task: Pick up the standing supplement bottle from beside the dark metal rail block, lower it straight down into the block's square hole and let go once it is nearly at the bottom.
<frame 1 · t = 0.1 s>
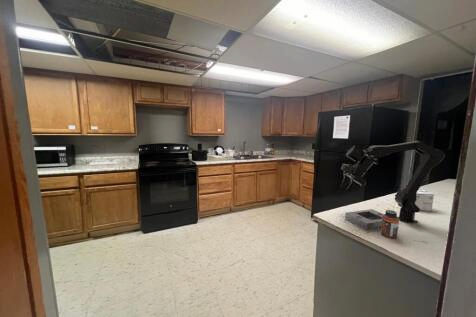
hand: (343, 189, 109), 15 cm above the countertop, tool tilted 35°, fingers open, 9 cm apart
light bulb box: (417, 208, 119), on the countertop
supplement bottle: (388, 235, 89), on the countertop
rail block: (369, 222, 102), on the countertop
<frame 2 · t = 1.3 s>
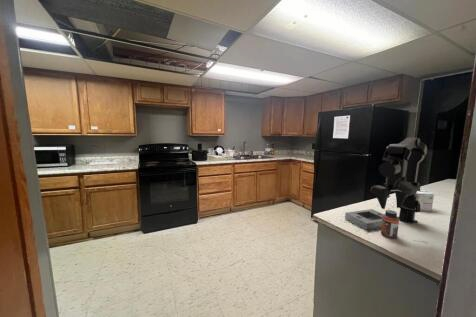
hand: (391, 207, 87), 13 cm above the countertop, tool pointing down, fingers open, 9 cm apart
nothing on the countertop moved.
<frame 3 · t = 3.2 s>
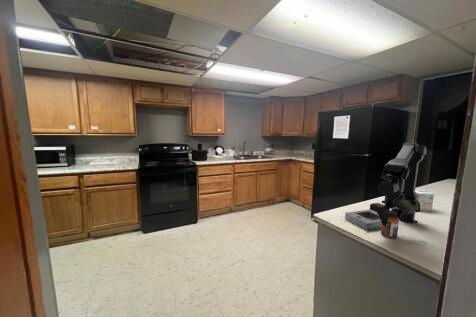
hand: (389, 224, 88), 5 cm above the countertop, tool pointing down, fingers closed on supplement bottle, 6 cm apart
supplement bottle: (388, 235, 89), on the countertop, touching gripper
everything else where it was.
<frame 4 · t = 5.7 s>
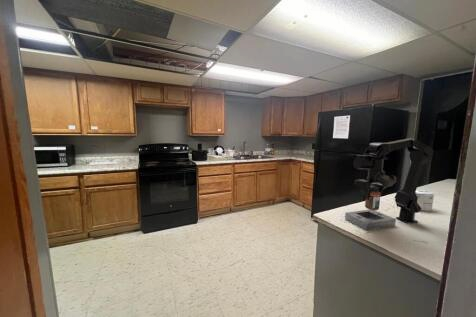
hand: (372, 198, 99), 13 cm above the countertop, tool pointing down, fingers closed on supplement bottle, 6 cm apart
supplement bottle: (371, 208, 100), point 8 cm above the countertop, touching gripper
everything else where it was.
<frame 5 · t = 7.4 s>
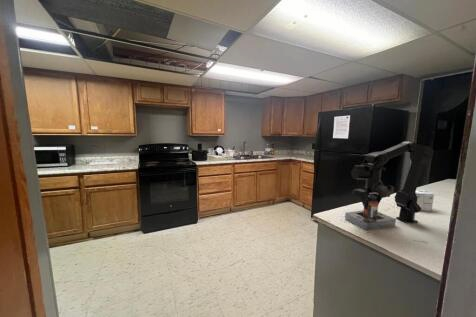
hand: (370, 208, 100), 8 cm above the countertop, tool pointing down, fingers closed on supplement bottle, 6 cm apart
supplement bottle: (369, 217, 101), point 2 cm above the countertop, touching gripper
everything else where it was.
when the fingers open (6 cm above the countertop, at t = 8.6 s): supplement bottle stays where it is, resting on rail block.
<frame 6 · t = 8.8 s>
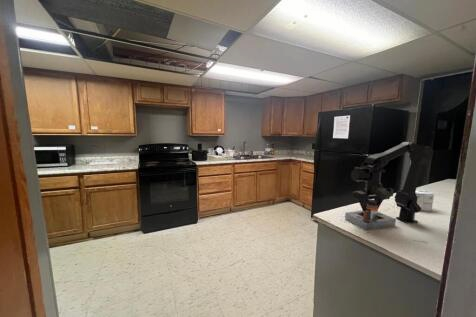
hand: (370, 210, 101), 6 cm above the countertop, tool pointing down, fingers open, 8 cm apart
supplement bottle: (369, 221, 101), resting on rail block
everything else where it was.
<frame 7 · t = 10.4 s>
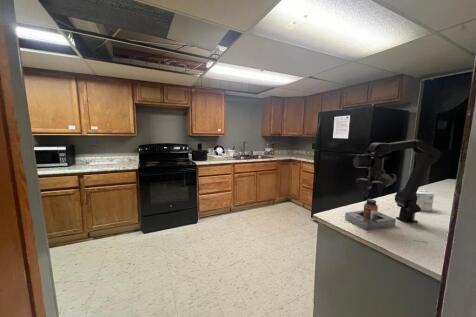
hand: (373, 196, 102), 13 cm above the countertop, tool pointing down, fingers open, 9 cm apart
nothing on the countertop moved.
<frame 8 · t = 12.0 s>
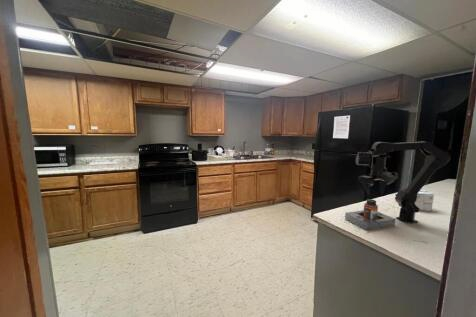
hand: (375, 194, 106), 13 cm above the countertop, tool pointing down, fingers open, 9 cm apart
nothing on the countertop moved.
at the end: supplement bottle 0.1 cm off-centre on the rail block, point 0.3 cm above the rail block's base; supplement bottle tilted 0°; the gripper is holding nothing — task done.
